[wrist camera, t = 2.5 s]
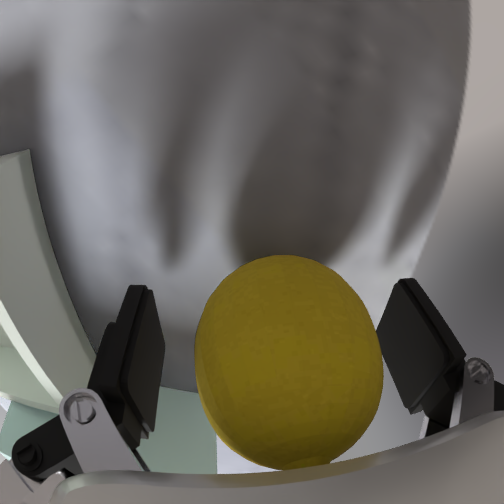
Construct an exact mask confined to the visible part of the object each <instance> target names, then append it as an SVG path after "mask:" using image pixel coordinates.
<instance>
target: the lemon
mask: <svg viewBox="0 0 504 504" xmlns="http://www.w3.org/2000/svg"><path fill="white" fill-rule="evenodd" d="M194 357H195V375H196V383H197V388H198V393H199V397H200V401H201V404H202V407H203V409H204V412H205V414H206V416H207V418H208V420H209V422H210V424H211V426H212V427H213V429H214V431H215V432H216V433H217V435H218V436H219V437H220V439H221V440H222V441H223V442H224V443H225V444H226V445H227V446H228V447H229V448H230V449H231V450H233V451H234V452H236V453H237V454H239V455H240V456H242V457H244V458H245V459H247V460H249V461H251V462H253V463H255V464H258V465H260V466H264V467H268V468H272V469H276V470H292V469H299V468H306V467H313V466H319V465H325V464H330V462H331V461H332V460H334V459H335V458H337V457H339V456H340V455H341V454H343V453H344V452H346V451H347V450H348V449H349V448H351V447H352V446H353V445H354V444H355V443H356V442H357V441H358V439H360V438H361V436H362V435H363V434H364V432H365V431H366V430H367V428H368V427H369V425H370V424H371V422H372V420H373V418H374V416H375V414H376V412H377V410H378V406H379V403H380V399H381V394H382V389H383V377H384V376H383V361H382V353H381V349H380V344H379V340H378V337H377V334H376V331H375V328H374V325H373V323H372V320H371V318H370V315H369V313H368V311H367V309H366V307H365V305H364V303H363V301H362V300H361V299H360V297H359V296H358V294H357V293H356V292H355V291H354V290H353V289H352V288H351V287H350V286H349V284H348V283H347V282H346V281H345V280H344V279H343V278H342V277H341V276H340V275H339V274H337V273H336V272H335V271H333V270H332V269H330V268H328V267H326V266H324V265H322V264H321V263H319V262H317V261H315V260H312V259H308V258H304V257H299V256H295V255H273V256H268V257H264V258H259V259H256V260H254V261H251V262H249V263H247V264H245V265H242V266H241V267H239V268H238V269H237V270H235V271H234V272H233V273H231V274H230V275H229V276H227V277H226V278H225V279H224V280H223V281H222V282H221V283H220V285H219V286H218V287H217V288H216V290H215V291H214V292H213V293H212V295H211V296H210V297H209V299H208V301H207V303H206V305H205V308H204V311H203V313H202V316H201V319H200V322H199V325H198V328H197V332H196V337H195V346H194Z"/></svg>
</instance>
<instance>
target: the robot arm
mask: <svg viewBox="0 0 504 504" xmlns="http://www.w3.org/2000/svg"><path fill="white" fill-rule="evenodd" d="M376 334H377V337H378V340H379V344H380V349H381V353H382V355H383V358H384V360H385V362H386V364H387V367H388V369H389V371H390V374H391V376H392V378H393V381H394V383H395V385H396V388H397V390H398V392H399V395H400V397H401V399H402V402H403V404H404V406H405V408H408V410H409V412H410V414H414V413H417V412H421V411H422V410H424V413H425V416H424V420H423V424H422V428H421V432H420V436H419V440H417V441H414V442H411V443H408V444H405V445H402V446H399V447H396V448H392V449H389V450H385V451H382V452H378V453H375V454H371V455H367V456H363V457H359V458H354V459H350V460H346V461H340V462H335V463H330V464H325V465H319V466H313V467H306V468H299V469H292V470H283V471H273V472H261V473H245V474H181V473H164V472H152V471H151V469H150V468H149V466H148V465H147V463H146V462H145V460H144V459H143V457H142V456H141V454H140V453H139V451H138V450H137V447H139V446H140V440H141V439H149V432H154V429H155V421H156V413H157V404H158V396H159V388H160V381H161V374H162V367H163V360H164V354H165V342H164V338H163V334H162V330H161V326H160V321H159V317H158V313H157V308H156V304H155V299H154V295H153V291H152V290H148V289H147V286H146V285H130V286H129V287H128V290H127V292H126V295H125V298H124V301H123V303H122V306H121V309H120V312H119V315H118V317H117V320H116V323H115V322H110V323H109V324H108V325H107V327H106V330H105V333H104V335H103V338H102V341H101V344H100V347H99V350H98V353H97V356H96V359H95V362H94V365H93V369H92V372H91V375H90V378H89V382H88V385H87V388H78V389H74V390H72V391H70V392H68V393H67V394H66V395H65V396H64V397H63V398H62V400H61V402H60V405H59V415H57V416H56V417H54V418H53V419H51V420H49V421H48V422H46V423H44V424H43V425H41V426H39V427H38V428H36V429H34V430H33V431H31V432H29V433H27V434H26V435H24V436H22V437H21V438H19V439H18V440H17V441H16V442H15V444H14V445H13V448H12V458H11V459H10V460H7V459H5V460H4V461H3V462H2V463H1V464H0V504H504V385H503V384H501V383H499V382H497V381H495V380H494V373H493V370H492V368H491V367H490V365H489V364H488V363H487V362H486V361H485V360H483V359H481V358H477V357H472V358H470V359H468V360H467V361H466V362H465V360H464V357H465V356H466V353H465V351H464V350H463V348H462V347H461V345H460V344H459V342H458V340H457V339H456V337H455V336H454V334H453V332H452V331H451V329H450V328H449V326H448V325H447V323H446V322H445V320H444V319H443V317H442V316H441V315H440V313H439V311H438V310H437V309H436V307H435V306H434V304H433V303H432V301H431V300H430V299H429V297H428V296H427V294H426V293H425V292H424V290H423V289H422V288H421V286H420V285H419V284H418V282H417V281H416V280H415V279H414V278H404V279H400V280H399V281H398V282H397V283H396V284H395V285H394V287H393V290H392V293H391V295H390V298H389V300H388V303H387V305H386V308H385V310H384V313H383V315H382V318H381V320H380V323H379V325H378V327H377V330H376Z"/></svg>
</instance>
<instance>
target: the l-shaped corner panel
mask: <svg viewBox="0 0 504 504" xmlns="http://www.w3.org/2000/svg"><path fill="white" fill-rule="evenodd" d="M57 415H59V414H57V413H53V412H49V411H45V410H41V409H38V408H34V407H31V406H27V405H24V404H21V403H18V402H14V401H11V404H10V406H9V409H8V412H7V415H6V418H5V421H4V424H3V427H2V430H1V433H0V453H1V454H2V455H3V456H4V457H5V458H6V459H8V460H10V459H11V458H12V448H13V445H14V444H15V442H16V441H17V440H18V439H19V438H21V437H22V436H24V435H26V434H27V433H29V432H31V431H33V430H34V429H36V428H38V427H39V426H41V425H43V424H44V423H46V422H48V421H49V420H51V419H53V418H54V417H56V416H57ZM137 450H138V451H139V453H140V454H141V456H142V457H143V459H144V460H145V462H146V463H147V465H148V466H149V468H150V469H151V471H152V472H164V473H181V474H217V443H216V432H215V431H214V429H213V427H212V426H211V424H210V422H209V420H208V418H207V416H206V414H205V412H204V409H203V407H202V404H201V401H200V397H199V393H194V392H188V391H182V390H177V389H171V388H166V387H161V386H160V388H159V396H158V404H157V413H156V421H155V429H154V432H149V439H141V440H140V446H139V447H137Z"/></svg>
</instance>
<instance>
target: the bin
mask: <svg viewBox="0 0 504 504" xmlns="http://www.w3.org/2000/svg"><path fill="white" fill-rule="evenodd" d="M95 359H96V354H95V352H94V350H93V348H92V346H91V344H90V342H89V340H88V337H87V335H86V333H85V331H84V329H83V327H82V324H81V322H80V320H79V318H78V315H77V313H76V311H75V308H74V306H73V304H72V301H71V299H70V296H69V294H68V291H67V288H66V286H65V283H64V280H63V278H62V275H61V272H60V269H59V266H58V264H57V261H56V258H55V255H54V251H53V248H52V245H51V242H50V239H49V235H48V232H47V228H46V225H45V221H44V217H43V213H42V209H41V205H40V201H39V197H38V192H37V188H36V183H35V178H34V173H33V167H32V162H31V156H30V149H27V150H23V151H18V152H14V153H10V154H7V155H3V156H0V397H3V398H6V399H8V400H11V401H14V402H18V403H21V404H24V405H27V406H31V407H34V408H38V409H41V410H45V411H49V412H53V413H57V414H59V405H60V402H61V400H62V398H63V397H64V396H65V395H66V394H67V393H68V392H70V391H72V390H74V389H78V388H87V385H88V382H89V378H90V375H91V372H92V369H93V365H94V362H95Z"/></svg>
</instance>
